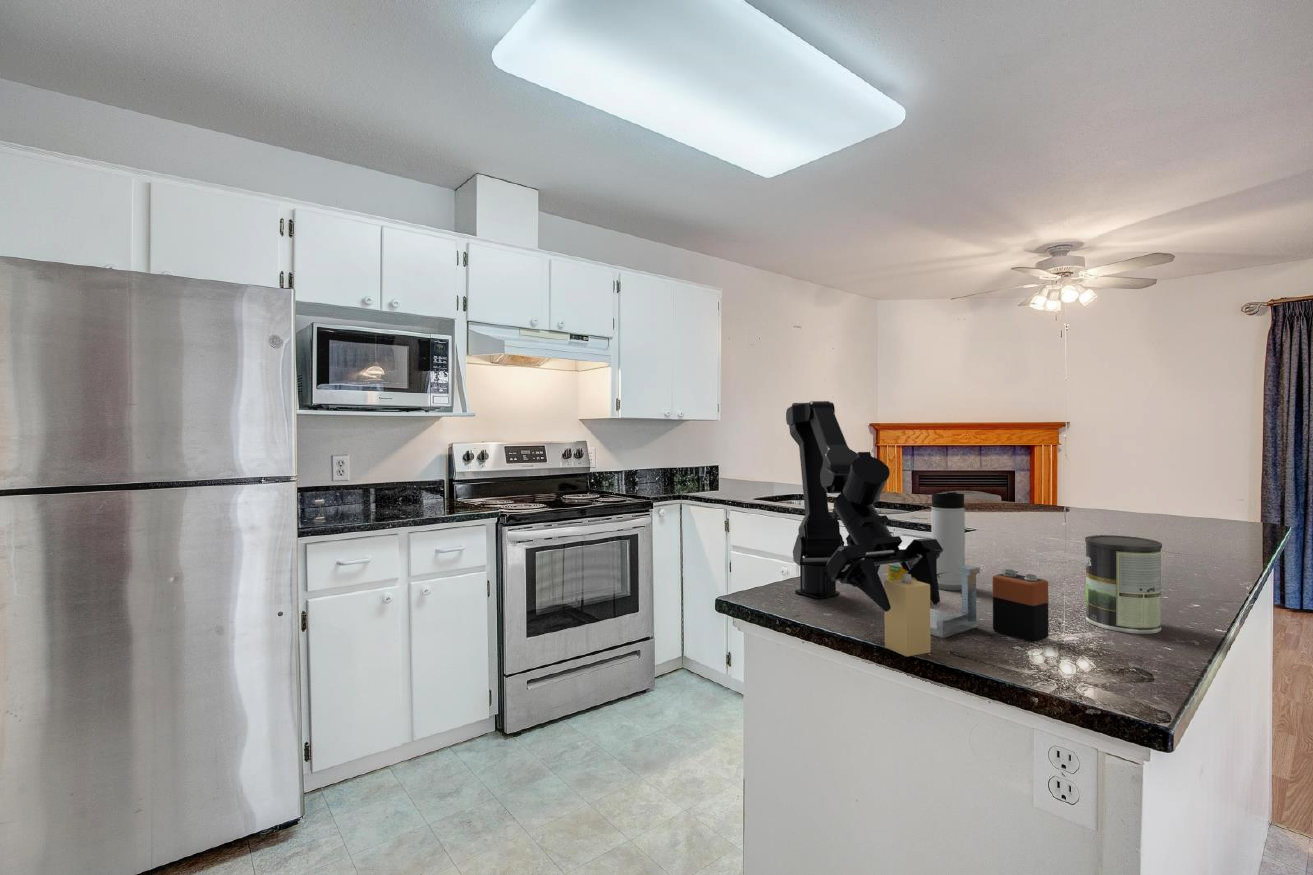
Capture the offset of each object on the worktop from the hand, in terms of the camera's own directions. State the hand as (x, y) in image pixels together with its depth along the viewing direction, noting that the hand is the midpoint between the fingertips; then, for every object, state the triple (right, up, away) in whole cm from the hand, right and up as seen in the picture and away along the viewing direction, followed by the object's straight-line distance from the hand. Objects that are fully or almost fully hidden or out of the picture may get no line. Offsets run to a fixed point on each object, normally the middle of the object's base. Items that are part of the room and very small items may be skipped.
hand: (913, 606), depth 93 cm
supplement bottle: (+10, -7, +31) cm, 34 cm away
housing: (0, -7, +1) cm, 7 cm away
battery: (+20, -7, +8) cm, 23 cm away
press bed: (+9, -7, +13) cm, 17 cm away
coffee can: (+40, -6, +12) cm, 42 cm away
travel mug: (+23, -6, +38) cm, 45 cm away
